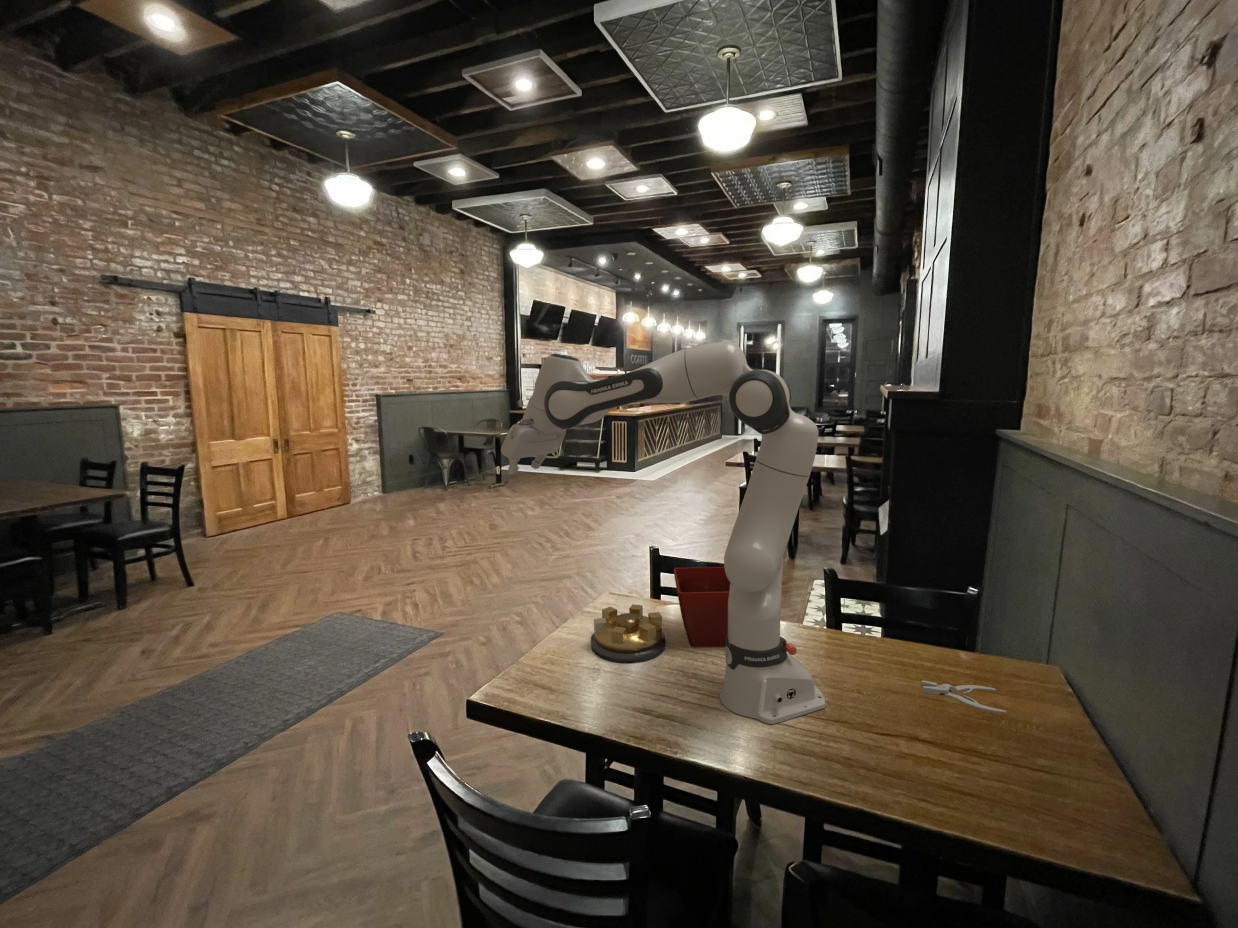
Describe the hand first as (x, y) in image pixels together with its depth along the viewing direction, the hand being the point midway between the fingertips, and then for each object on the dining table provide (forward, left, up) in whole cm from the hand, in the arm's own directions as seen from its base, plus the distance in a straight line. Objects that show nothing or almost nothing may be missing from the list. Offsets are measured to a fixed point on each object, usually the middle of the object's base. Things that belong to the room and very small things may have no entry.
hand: (523, 470), depth 137 cm
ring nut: (-26, -1, -47) cm, 53 cm away
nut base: (-26, -1, -49) cm, 55 cm away
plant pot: (-49, 0, -49) cm, 69 cm away
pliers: (-92, +40, -50) cm, 111 cm away
